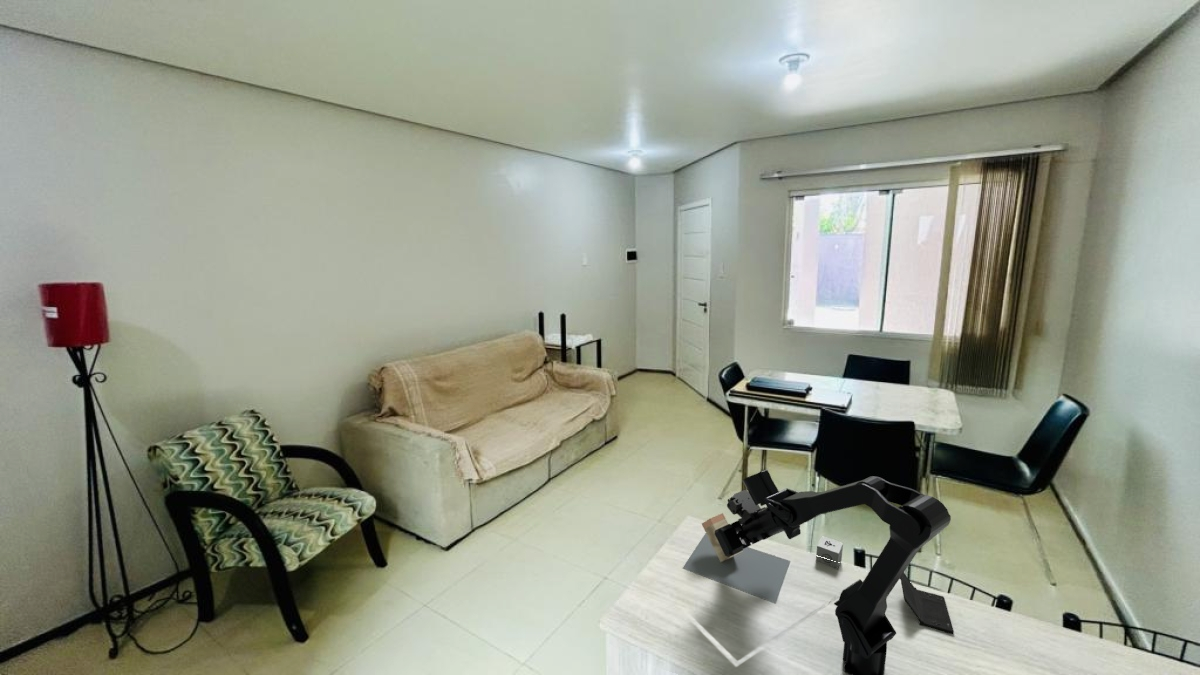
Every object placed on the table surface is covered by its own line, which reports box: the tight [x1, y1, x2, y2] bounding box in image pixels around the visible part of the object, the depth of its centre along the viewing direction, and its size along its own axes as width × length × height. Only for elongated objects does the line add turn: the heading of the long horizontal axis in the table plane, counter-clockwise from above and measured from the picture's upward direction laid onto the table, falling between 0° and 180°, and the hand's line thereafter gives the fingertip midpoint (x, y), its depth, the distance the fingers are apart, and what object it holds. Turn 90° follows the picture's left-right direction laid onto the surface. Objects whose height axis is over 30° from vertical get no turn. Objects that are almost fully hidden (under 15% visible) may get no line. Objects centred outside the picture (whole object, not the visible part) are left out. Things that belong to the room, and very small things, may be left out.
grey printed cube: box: [815, 535, 844, 571], centre depth 119 cm, size 5×5×5 cm
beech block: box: [701, 512, 743, 562], centre depth 120 cm, size 4×4×10 cm
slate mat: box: [682, 532, 791, 604], centre depth 118 cm, size 22×16×1 cm
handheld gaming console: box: [899, 572, 955, 635], centre depth 103 cm, size 12×7×10 cm
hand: (731, 538), depth 117 cm, fingers closed
